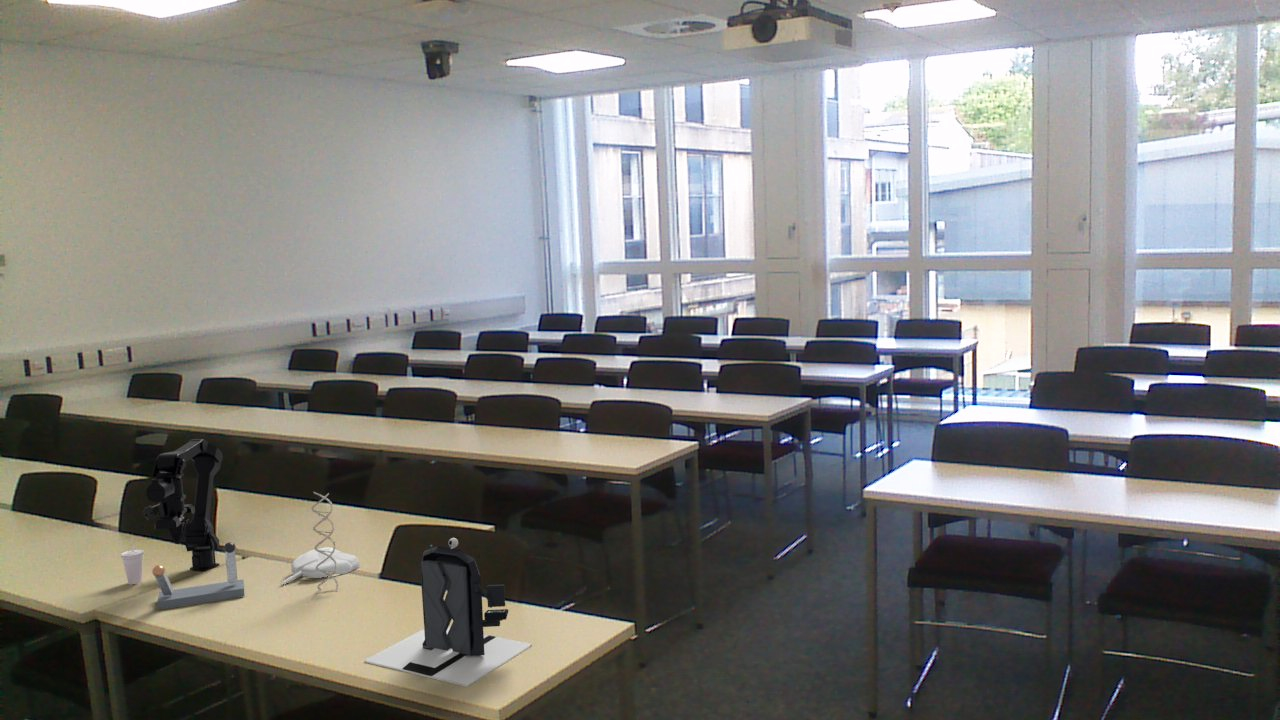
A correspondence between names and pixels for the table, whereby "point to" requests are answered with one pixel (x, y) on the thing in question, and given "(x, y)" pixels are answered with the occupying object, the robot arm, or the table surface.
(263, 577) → the table surface
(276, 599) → the table surface
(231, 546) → the beige grey bar
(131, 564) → the smoothie
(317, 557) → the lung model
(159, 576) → the copper knob rod
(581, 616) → the table surface
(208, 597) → the switch board
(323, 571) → the dna model
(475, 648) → the slab on white base
